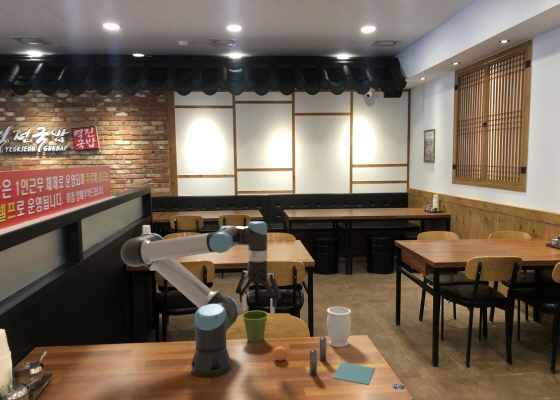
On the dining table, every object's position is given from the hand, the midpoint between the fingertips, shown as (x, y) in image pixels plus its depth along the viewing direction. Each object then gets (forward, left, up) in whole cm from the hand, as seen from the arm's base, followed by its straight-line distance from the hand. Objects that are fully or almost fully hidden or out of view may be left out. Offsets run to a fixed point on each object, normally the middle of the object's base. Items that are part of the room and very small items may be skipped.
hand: (258, 312), depth 172 cm
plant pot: (-9, +15, -19) cm, 25 cm away
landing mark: (+39, 0, -18) cm, 43 cm away
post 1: (+25, -6, -18) cm, 32 cm away
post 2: (+25, +6, -18) cm, 32 cm away
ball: (+9, 0, -16) cm, 18 cm away
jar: (+27, +24, -19) cm, 41 cm away
